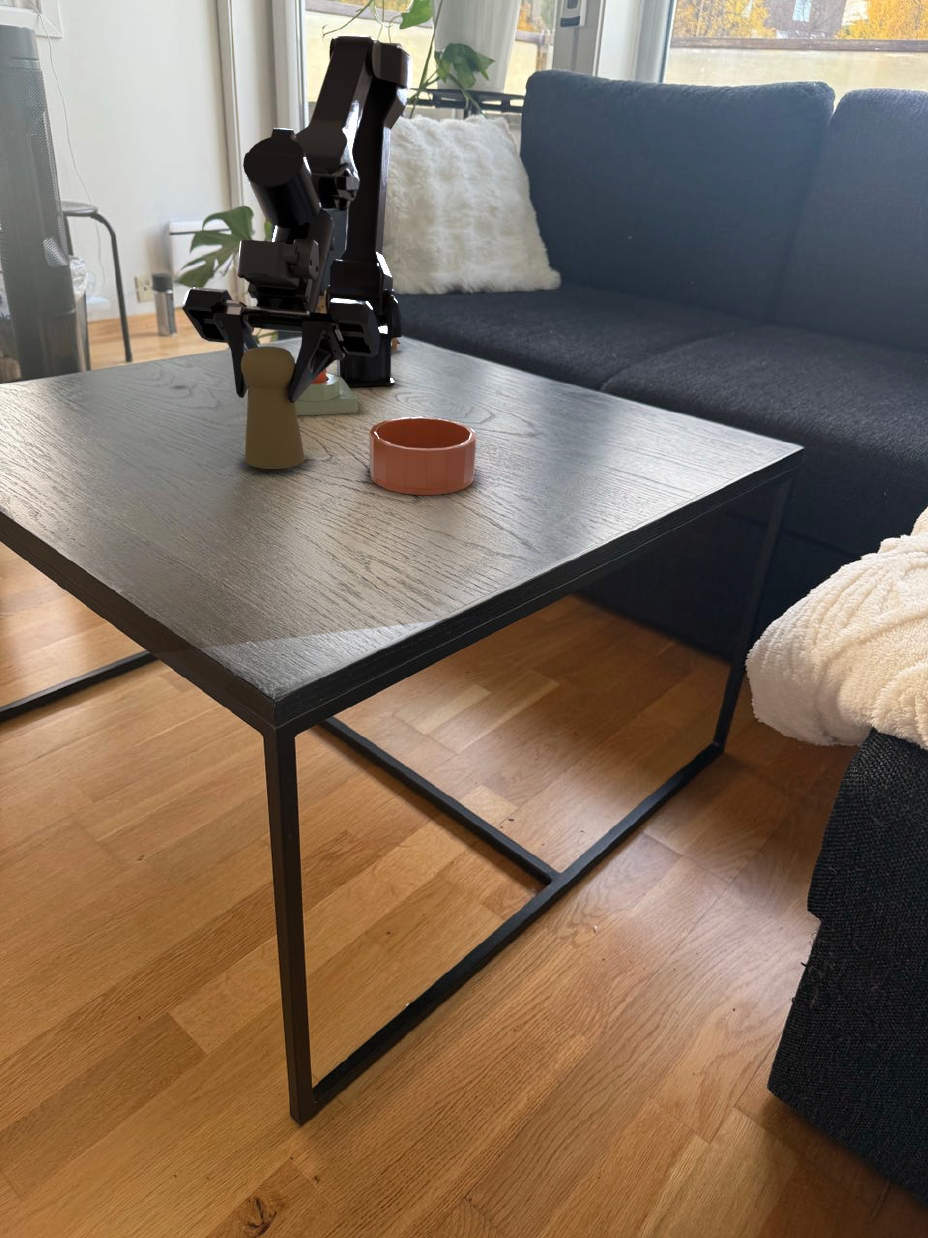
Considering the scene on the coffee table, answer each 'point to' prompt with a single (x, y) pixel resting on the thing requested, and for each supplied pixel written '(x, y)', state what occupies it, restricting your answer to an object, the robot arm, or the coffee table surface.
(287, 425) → the cork
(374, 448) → the bowl
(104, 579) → the coffee table surface
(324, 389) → the button box
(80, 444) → the coffee table surface
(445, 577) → the coffee table surface
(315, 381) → the button
